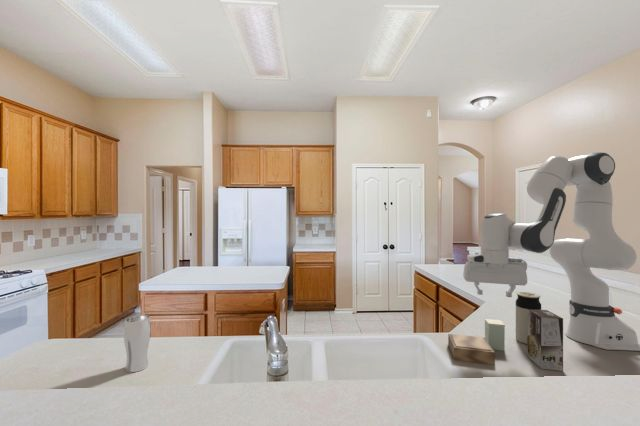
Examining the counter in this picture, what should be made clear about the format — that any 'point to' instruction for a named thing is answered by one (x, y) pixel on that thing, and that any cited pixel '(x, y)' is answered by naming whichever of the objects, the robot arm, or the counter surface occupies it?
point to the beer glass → (137, 342)
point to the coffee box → (545, 339)
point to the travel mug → (525, 313)
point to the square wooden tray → (471, 349)
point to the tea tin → (495, 334)
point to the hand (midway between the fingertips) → (494, 295)
